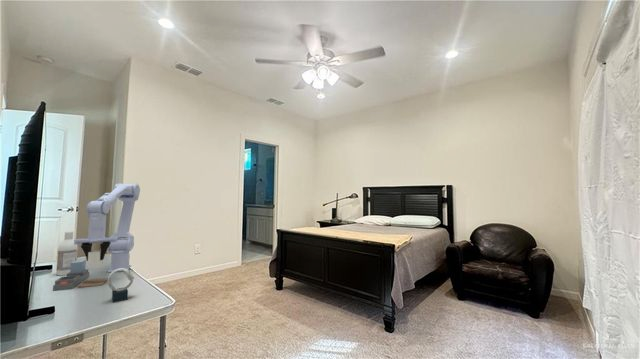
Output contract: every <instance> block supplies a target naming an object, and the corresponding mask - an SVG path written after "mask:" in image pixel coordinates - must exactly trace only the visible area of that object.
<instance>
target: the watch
mask: <svg viewBox="0 0 640 359" xmlns="http://www.w3.org/2000/svg"><path fill="white" fill-rule="evenodd" d="M120 270H123V271H122V272H123V273H124V275H125V277H126V278H127V279H128V280H129V281H130V282H129V284H127V285H126V286H125V287H120V288H119V287H118V288H115V286H114V285H113V284H112V283H111V279H110V278H111V276H112V275H113V274H115V273H118V272H121V271H120ZM117 271H118V272H117ZM107 278H108V280H107V281H106V282H107V285H108V287H109V288H110V290H111V301H112V303H113V304H114V303H119V302H122V301H124V302H125V301H127V300H128V297H129V296H128V295H129V290H128V289H129V288H130V287H131V286H132V284H133V282H134V279H135V277H134V276H133V274H132V273H131V271H130V270H129V269H127V268H126V269H125V268H119V269H116V270H114V271H112V272H109V274H108V276H107Z"/></svg>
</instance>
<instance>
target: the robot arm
mask: <svg viewBox="0 0 640 359" xmlns="http://www.w3.org/2000/svg"><path fill="white" fill-rule="evenodd" d="M140 192H141V188H140V185H139V184H138V183H119V182H117V183H116V184H115V185H114V187H113V190H112V191H111V192H105V193H104V194H103V195H101V196H100V197H98V198H97V199H96V200H92V201H90V202H88V203H87V205H86V207H85V209H86V214H87V218H89V219H88V233H87V234H88V235H87V238H76V239H73V240H74V244H77V245H80V248H81V250H82V251H83V253H84V255H85V258H86V259H85V260H86V262H88V253H89V252H90V251H92V247H93V244H100V250H101V256H100V260H104V259H105V256H106V252H107V251H108V252H109V253H110V254H111V255H110V268H109V269H108V270H107V273H111V272H112V271H114V270H116V269H119V268H125V269H126V268H127V269H128V270H129V269H130V268H131V267H132V265H130V257H131V256H130V252H131V251H132V250H133V248H134V245H135V236H134V235H133V234H132V233H130V227H131V223H132V218H133V212H134V208H135V203H136V202H137V201H138V200H139V198H140ZM118 200H119V201H121V202H122V207H121V211H120V215H119V216H120V217H119V221H118V225H117V230H116V232H115V233H113V234H112V235H110V237H106V230H107V228H106V225H107V214H109V212H110V211H111V209H112V206H113V205H114V204H116V202H117V201H118ZM118 272H123V270H120V271H117V272H116V273H118Z"/></svg>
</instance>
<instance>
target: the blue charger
mask: <svg viewBox="0 0 640 359" xmlns="http://www.w3.org/2000/svg"><path fill="white" fill-rule="evenodd" d="M86 263H87V259H80V260H78V259H77V261H73V262H71V268H70V273H80V272H84V271H85V269H86Z"/></svg>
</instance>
